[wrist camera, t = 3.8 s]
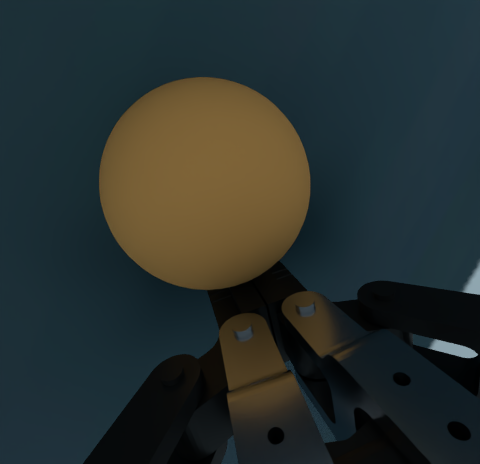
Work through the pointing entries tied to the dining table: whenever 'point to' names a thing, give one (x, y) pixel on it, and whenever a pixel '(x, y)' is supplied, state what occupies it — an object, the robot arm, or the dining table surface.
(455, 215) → the dining table surface
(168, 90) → the ball
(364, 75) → the dining table surface
